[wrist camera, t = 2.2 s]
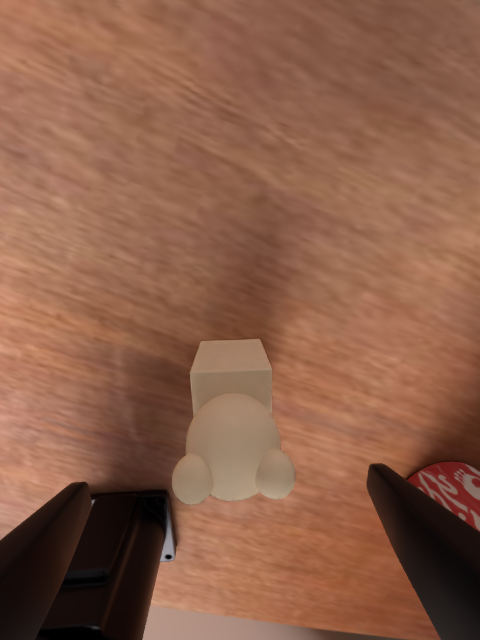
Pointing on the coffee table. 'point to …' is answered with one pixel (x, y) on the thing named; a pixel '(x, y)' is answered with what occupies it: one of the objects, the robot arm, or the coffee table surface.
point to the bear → (232, 428)
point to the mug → (452, 488)
